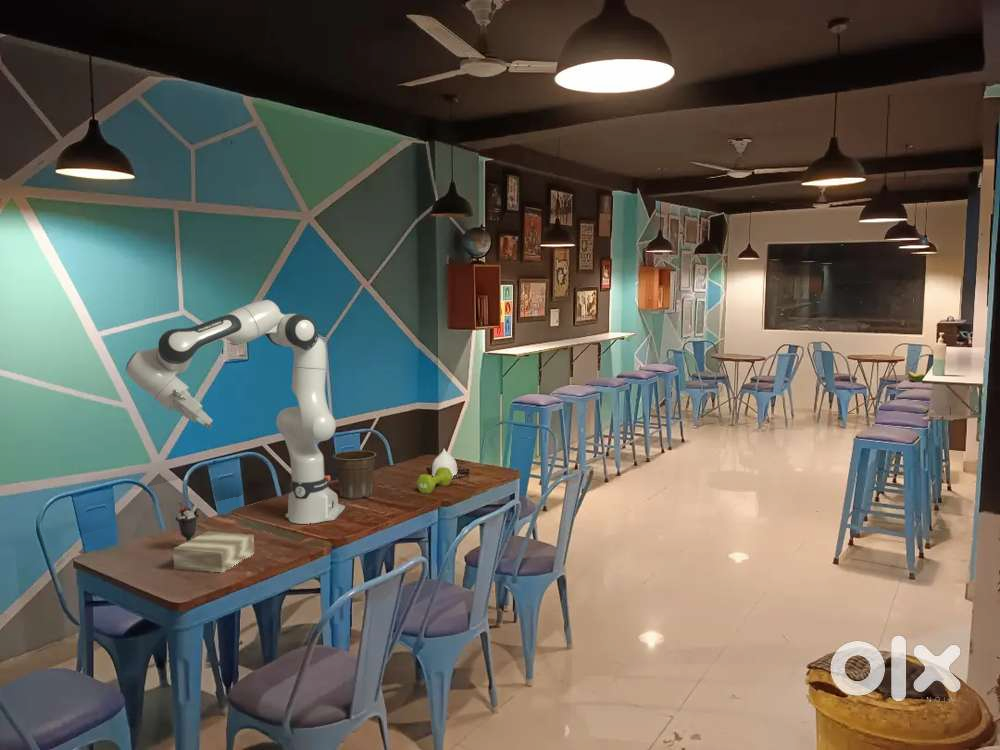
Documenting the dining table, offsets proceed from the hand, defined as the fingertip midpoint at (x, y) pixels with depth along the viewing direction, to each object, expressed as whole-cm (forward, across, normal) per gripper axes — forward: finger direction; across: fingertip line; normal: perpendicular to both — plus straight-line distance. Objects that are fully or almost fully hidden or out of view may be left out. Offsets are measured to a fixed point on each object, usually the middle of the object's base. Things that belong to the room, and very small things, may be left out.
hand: (211, 424), depth 226 cm
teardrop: (+80, +69, -51) cm, 117 cm away
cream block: (+28, +3, +29) cm, 40 cm away
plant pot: (+54, +55, -19) cm, 79 cm away
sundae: (+20, +18, +31) cm, 41 cm away
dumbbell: (+77, +51, -40) cm, 100 cm away
